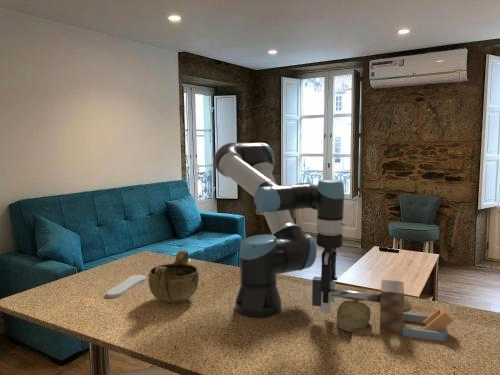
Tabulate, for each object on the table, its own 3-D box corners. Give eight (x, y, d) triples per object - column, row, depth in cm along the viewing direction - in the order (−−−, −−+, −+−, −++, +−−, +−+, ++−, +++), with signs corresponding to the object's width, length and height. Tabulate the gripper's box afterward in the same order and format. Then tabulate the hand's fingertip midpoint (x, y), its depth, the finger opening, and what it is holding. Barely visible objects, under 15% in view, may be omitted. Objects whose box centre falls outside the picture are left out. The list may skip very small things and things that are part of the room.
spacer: (424, 329, 111) (444, 312, 109) (423, 321, 116) (442, 305, 114) (433, 337, 110) (453, 320, 108) (431, 329, 115) (450, 313, 113)
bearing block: (379, 336, 113) (380, 291, 111) (380, 321, 122) (381, 279, 121) (402, 339, 111) (404, 293, 109) (401, 324, 120) (403, 281, 119)
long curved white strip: (149, 279, 163) (149, 275, 163) (118, 300, 141) (118, 295, 141) (133, 278, 164) (133, 274, 164) (100, 298, 143) (100, 293, 143)
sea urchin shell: (415, 310, 126) (396, 291, 126) (396, 326, 127) (377, 307, 128) (410, 299, 134) (392, 282, 135) (392, 314, 136) (375, 297, 137)
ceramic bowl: (164, 287, 152) (163, 248, 151) (207, 290, 149) (207, 250, 147) (136, 311, 130) (134, 266, 129) (186, 315, 127) (185, 269, 125)
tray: (402, 340, 110) (403, 328, 110) (401, 323, 121) (402, 312, 120) (447, 346, 107) (447, 334, 106) (442, 329, 117) (443, 317, 117)
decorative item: (342, 343, 115) (364, 326, 110) (324, 312, 121) (344, 294, 115) (361, 336, 122) (383, 319, 116) (343, 307, 127) (364, 290, 121)
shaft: (312, 305, 122) (312, 279, 121) (313, 301, 125) (314, 276, 124) (387, 314, 115) (388, 287, 114) (387, 310, 118) (388, 284, 117)
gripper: (338, 242, 109) (336, 323, 111) (346, 226, 128) (344, 295, 131) (310, 239, 111) (309, 319, 114) (322, 224, 131) (320, 292, 133)
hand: (327, 306), depth 122 cm, fingers open, 8 cm apart
